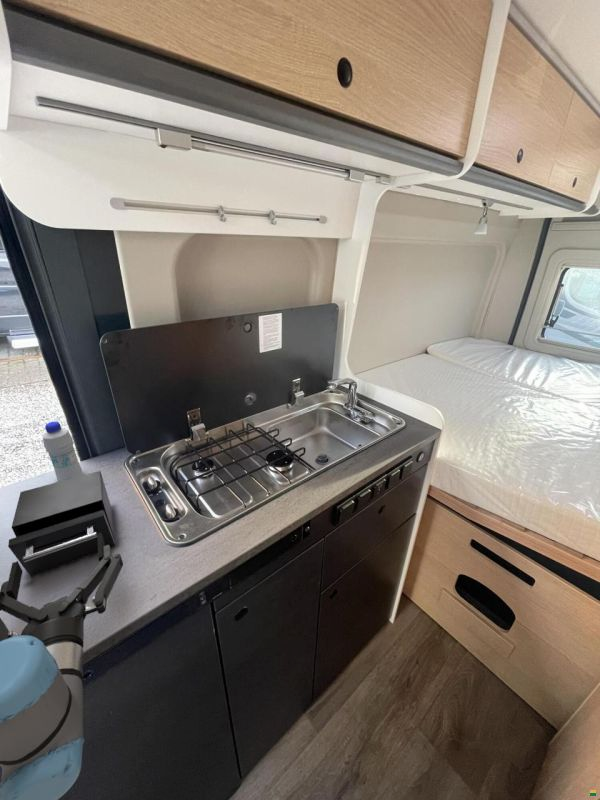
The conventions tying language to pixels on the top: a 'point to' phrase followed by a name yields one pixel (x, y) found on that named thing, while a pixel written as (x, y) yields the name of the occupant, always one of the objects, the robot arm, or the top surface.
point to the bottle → (61, 452)
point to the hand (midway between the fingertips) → (61, 551)
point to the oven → (61, 503)
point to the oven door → (61, 543)
